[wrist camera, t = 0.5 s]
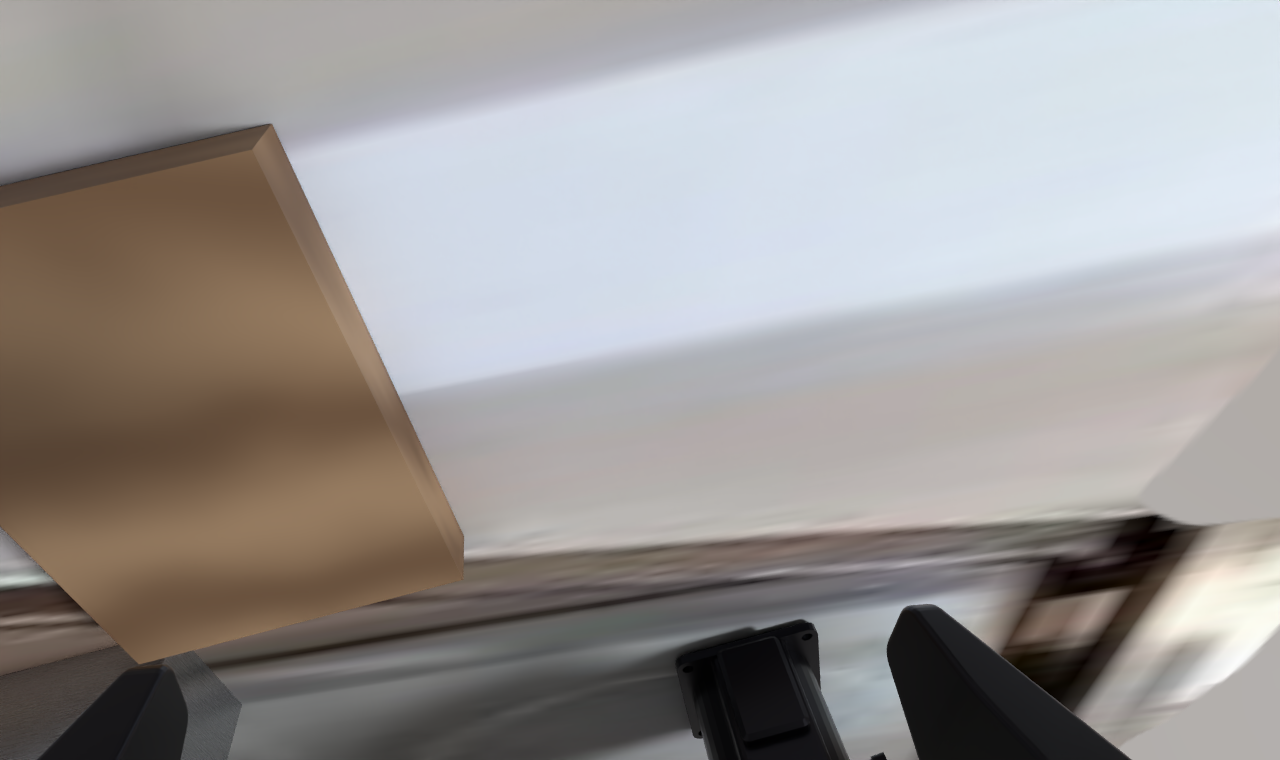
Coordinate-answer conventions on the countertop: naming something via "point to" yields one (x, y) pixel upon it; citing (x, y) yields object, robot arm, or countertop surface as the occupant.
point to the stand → (201, 404)
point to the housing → (61, 691)
